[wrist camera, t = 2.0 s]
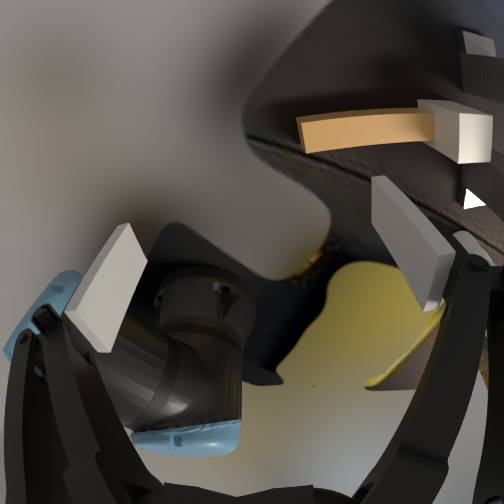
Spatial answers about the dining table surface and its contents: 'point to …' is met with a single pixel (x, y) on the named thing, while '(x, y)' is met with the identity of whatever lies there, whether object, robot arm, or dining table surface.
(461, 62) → the white arch block
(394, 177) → the dining table surface
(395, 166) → the dining table surface
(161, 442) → the robot arm
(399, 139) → the mallet
